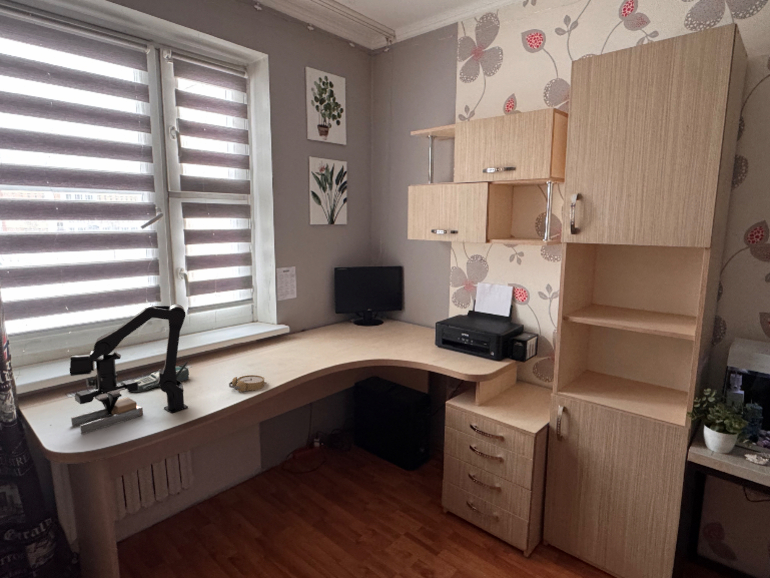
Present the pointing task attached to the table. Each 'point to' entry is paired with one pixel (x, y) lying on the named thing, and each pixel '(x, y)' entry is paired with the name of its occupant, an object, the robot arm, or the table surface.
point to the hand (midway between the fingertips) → (109, 414)
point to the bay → (103, 419)
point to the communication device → (152, 380)
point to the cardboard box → (124, 405)
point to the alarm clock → (247, 383)
